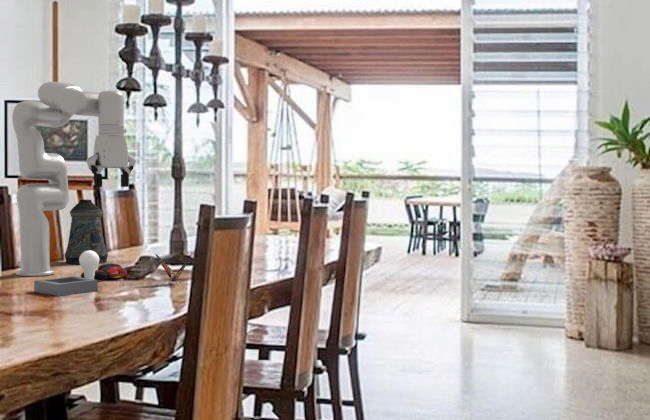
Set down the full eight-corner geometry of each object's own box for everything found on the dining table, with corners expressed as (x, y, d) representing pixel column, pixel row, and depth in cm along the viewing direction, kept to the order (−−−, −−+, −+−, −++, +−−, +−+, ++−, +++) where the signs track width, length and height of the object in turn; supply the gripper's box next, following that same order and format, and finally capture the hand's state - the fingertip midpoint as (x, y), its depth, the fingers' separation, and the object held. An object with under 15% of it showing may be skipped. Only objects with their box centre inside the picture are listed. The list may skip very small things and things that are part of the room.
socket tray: (34, 291, 225) (34, 280, 225) (73, 286, 235) (72, 276, 235) (58, 296, 217) (58, 284, 217) (97, 290, 227) (97, 279, 227)
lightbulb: (81, 286, 235) (80, 251, 235) (77, 284, 241) (77, 249, 240) (101, 285, 238) (101, 250, 237) (97, 283, 243) (97, 249, 243)
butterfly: (150, 286, 237) (150, 254, 236) (158, 282, 246) (158, 251, 246) (188, 287, 236) (188, 255, 236) (195, 282, 246) (195, 252, 245)
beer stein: (87, 265, 292) (87, 200, 291) (50, 262, 300) (49, 199, 299) (116, 261, 307) (116, 199, 306) (80, 259, 315) (79, 198, 314)
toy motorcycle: (78, 286, 247) (126, 279, 247) (76, 270, 247) (124, 263, 246) (103, 278, 272) (147, 271, 272) (101, 264, 272) (144, 257, 271)
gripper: (127, 133, 244) (127, 186, 244) (79, 130, 230) (80, 187, 231) (141, 132, 239) (142, 186, 240) (94, 129, 225) (94, 187, 226)
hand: (111, 186), depth 235 cm, fingers open, 9 cm apart
